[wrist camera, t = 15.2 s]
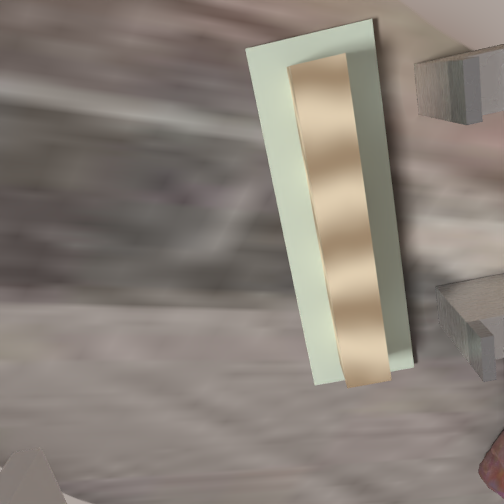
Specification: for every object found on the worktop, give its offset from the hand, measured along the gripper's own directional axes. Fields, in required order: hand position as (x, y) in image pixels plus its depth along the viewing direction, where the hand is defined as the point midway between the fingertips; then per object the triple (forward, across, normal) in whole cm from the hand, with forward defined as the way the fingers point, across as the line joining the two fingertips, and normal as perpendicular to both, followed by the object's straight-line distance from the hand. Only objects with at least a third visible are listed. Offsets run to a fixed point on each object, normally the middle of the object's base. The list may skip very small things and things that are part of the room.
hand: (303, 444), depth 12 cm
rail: (+31, +5, -5) cm, 32 cm away
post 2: (+32, +17, -15) cm, 39 cm away
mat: (+32, +6, -5) cm, 33 cm away
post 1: (+32, +17, +5) cm, 36 cm away
